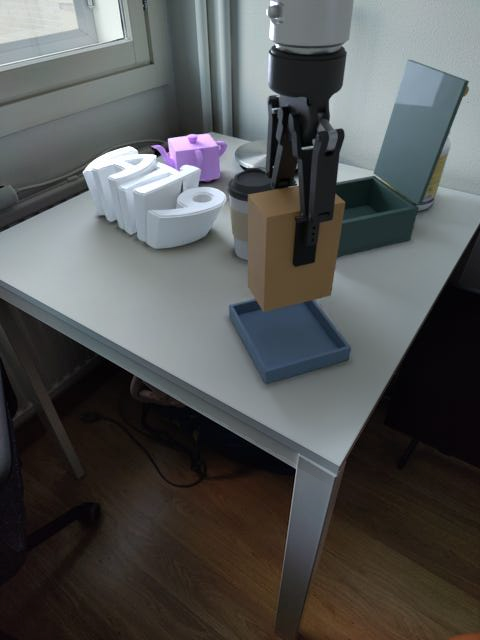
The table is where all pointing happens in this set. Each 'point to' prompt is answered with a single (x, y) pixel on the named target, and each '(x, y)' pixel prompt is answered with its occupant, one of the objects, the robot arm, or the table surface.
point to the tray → (288, 338)
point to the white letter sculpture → (152, 198)
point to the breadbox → (373, 215)
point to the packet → (287, 251)
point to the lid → (419, 128)
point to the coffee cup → (244, 204)
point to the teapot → (195, 154)
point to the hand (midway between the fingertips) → (292, 249)
